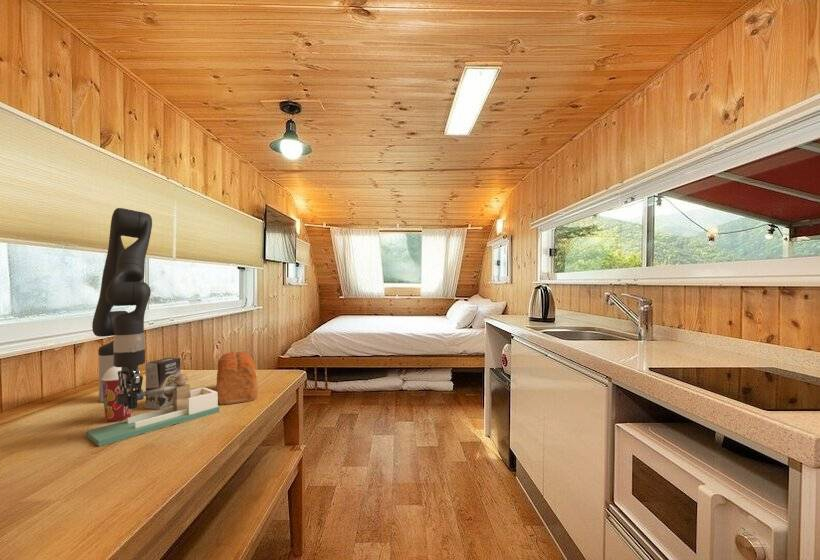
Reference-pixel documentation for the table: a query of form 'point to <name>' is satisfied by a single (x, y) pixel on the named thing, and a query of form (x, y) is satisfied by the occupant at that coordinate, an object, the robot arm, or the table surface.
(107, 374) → the smoothie
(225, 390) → the bread
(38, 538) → the table surface
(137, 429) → the pitch
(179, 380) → the rod
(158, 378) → the coffee box
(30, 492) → the table surface
